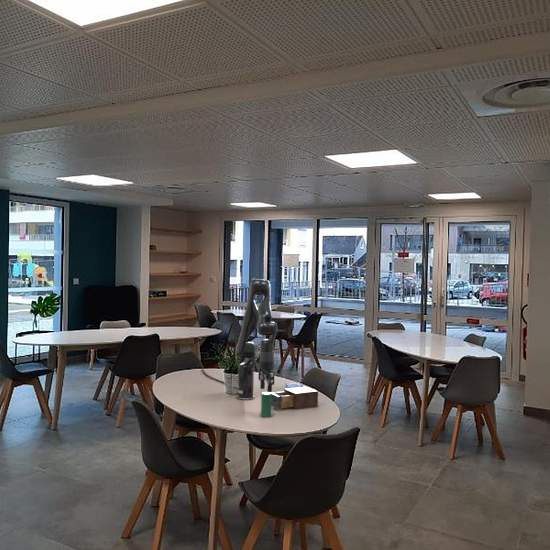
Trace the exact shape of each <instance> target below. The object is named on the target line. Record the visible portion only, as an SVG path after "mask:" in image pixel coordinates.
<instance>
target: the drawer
mask: <svg viewBox="0 0 550 550" xmlns="http://www.w3.org/2000/svg"><path fill="white" fill-rule="evenodd" d="M270 393H271V407H273V408H274V409H276V410H281V409H284V408H291V407H294V394H291V393H289V392H287V391H285V392H284V391H275V392H270Z"/></svg>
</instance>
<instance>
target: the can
mask: <svg viewBox="0 0 550 550" xmlns="http://www.w3.org/2000/svg"><path fill="white" fill-rule="evenodd" d="M260 394H261V395H260V398H261V399H260V401H261V402H260V417H262V418H271V417H272V406H271V393H268V392H267V391H263V392H261V393H260Z"/></svg>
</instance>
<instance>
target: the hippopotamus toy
mask: <svg viewBox="0 0 550 550" xmlns="http://www.w3.org/2000/svg"><path fill="white" fill-rule="evenodd" d="M298 387H304V385H303V384H301V383H297V382H290V383H288V384H287V383H285V386H284V389H288V388H298Z"/></svg>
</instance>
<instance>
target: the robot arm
mask: <svg viewBox="0 0 550 550" xmlns="http://www.w3.org/2000/svg"><path fill="white" fill-rule="evenodd" d="M256 296H261V297H263V299H262V301H261V302H260V304H259V305H258V307H257V304H256V301H255V297H256ZM272 320H273V315H272V308H271V283H270V281H269V280H267V279H263V278H262V279H260V278H252V279H251V280H250V283H249V289H248V296H247V302H246V306H245V311H244V315H243V319H242V325H241V329H240V334H239V336H238V340H237V343H236V347H235V356H236V358H238V359H245V360H244V361H243V362H241V363H239V364H238V366H237V369H238V370H237V387H238V389H237V399H238V400H243V401H247V400H248V401H249V400H253V399H254V383H255V381H254V378H255V377H254V376H255V375H254V373H255V360H256V346H255V343H254V342H251V341H248V340H249V338H250V337H251V336H252V334H253V333H254V332H255V331H256V330H257V333H258V335H260V336H269V337H268V338H265V339H263V340H260V346H259V347H260V348H259V365H258V366H259V367H258V378H257V379H258V380H259V383H260V387H259V389H261V390H264V389H265V388H266V389H267V391H266V392H268V393H270V392H272V391H273V386H274V385H275V372H272V370H274V369H275V353H274V351H275V349H274V348H275V340H276V337H277V333H278V324H277V323H276V321H272ZM201 371H202V372H203V374H204V375H205V376H206V377H208V378H209V379H212V380H214V381H217V382H219V383H222V384H225V383H224V382H225V381H223V380H219V379H217V378H214V377H213V376H211V375H209V374H207V373H206V372H205V370H204V367H201ZM266 384H267V387H265V386H266ZM272 393H273V392H272Z"/></svg>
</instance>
